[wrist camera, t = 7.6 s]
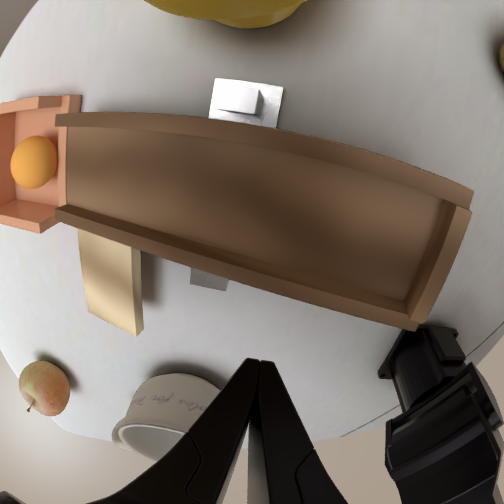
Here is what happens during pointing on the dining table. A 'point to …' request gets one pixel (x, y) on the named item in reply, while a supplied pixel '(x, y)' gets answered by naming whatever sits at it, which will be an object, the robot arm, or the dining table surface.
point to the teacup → (162, 413)
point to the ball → (34, 162)
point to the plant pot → (232, 10)
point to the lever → (256, 215)
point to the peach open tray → (3, 145)
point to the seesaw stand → (245, 111)
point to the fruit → (45, 388)
